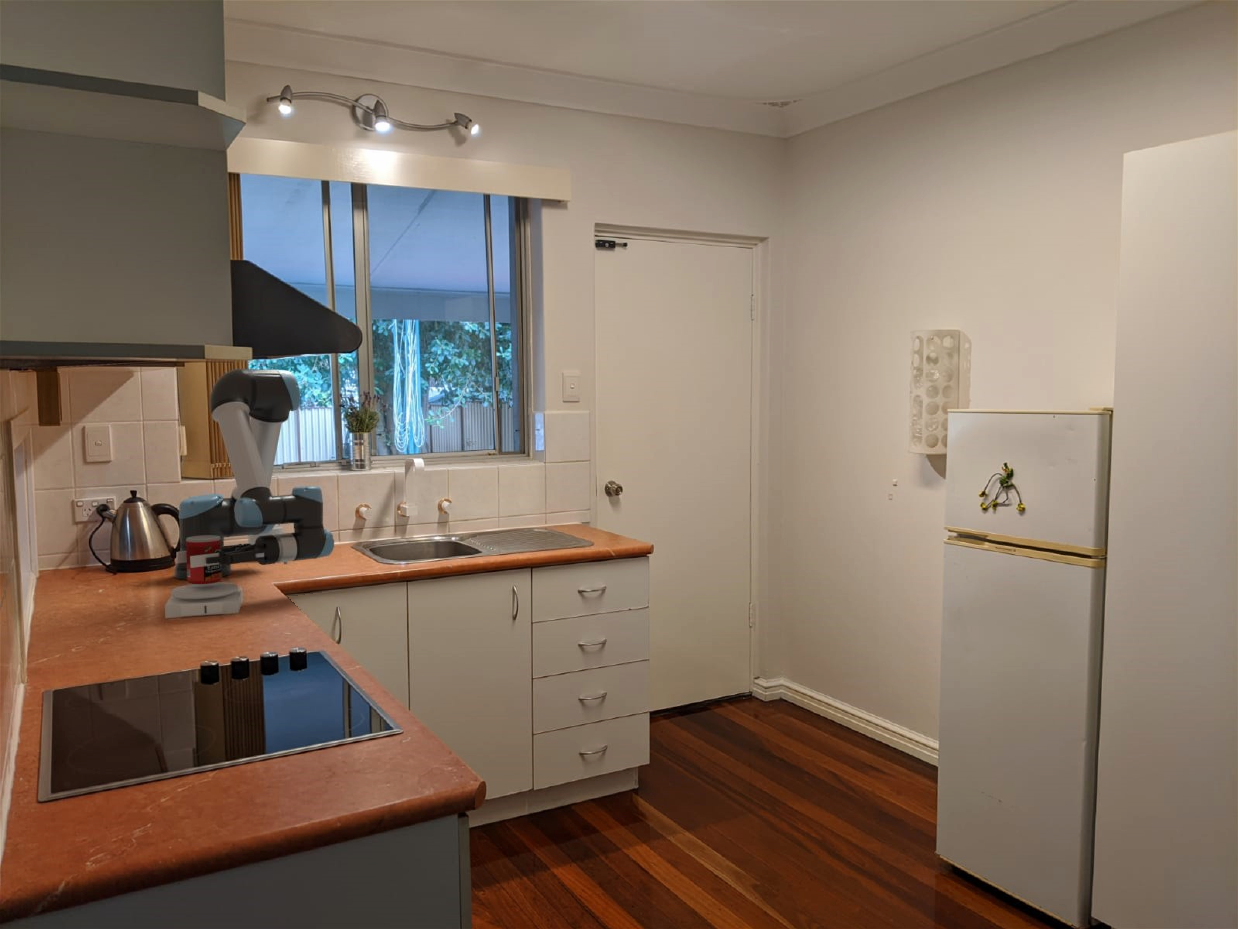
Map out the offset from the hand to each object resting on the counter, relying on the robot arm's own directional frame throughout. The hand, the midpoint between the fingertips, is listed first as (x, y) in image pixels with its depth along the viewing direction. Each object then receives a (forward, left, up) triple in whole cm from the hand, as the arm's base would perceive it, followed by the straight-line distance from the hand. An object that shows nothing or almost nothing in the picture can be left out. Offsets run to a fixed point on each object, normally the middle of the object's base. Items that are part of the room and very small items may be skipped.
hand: (184, 559), depth 224 cm
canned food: (-2, +4, -6) cm, 8 cm away
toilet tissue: (-75, +15, -13) cm, 78 cm away
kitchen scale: (-2, +4, -13) cm, 14 cm away
